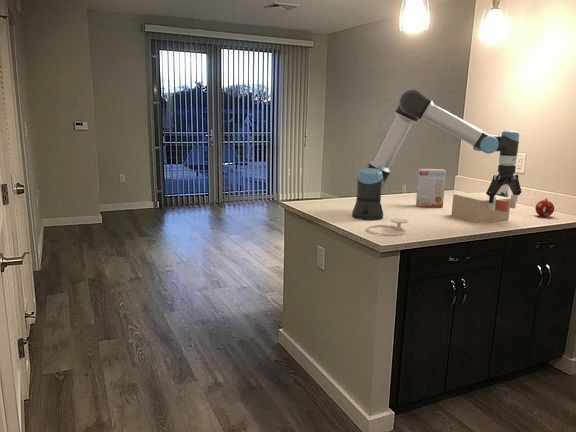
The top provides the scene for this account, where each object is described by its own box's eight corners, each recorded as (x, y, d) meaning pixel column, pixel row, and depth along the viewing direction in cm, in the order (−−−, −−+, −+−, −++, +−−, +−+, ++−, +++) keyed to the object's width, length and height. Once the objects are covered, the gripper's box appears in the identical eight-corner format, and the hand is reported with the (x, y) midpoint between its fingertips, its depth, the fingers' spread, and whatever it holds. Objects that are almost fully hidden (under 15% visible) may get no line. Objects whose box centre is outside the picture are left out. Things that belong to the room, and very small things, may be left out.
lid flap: (490, 213, 220) (492, 202, 219) (452, 203, 243) (453, 194, 242) (521, 210, 228) (523, 200, 227) (481, 201, 251) (482, 192, 250)
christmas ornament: (553, 216, 247) (556, 197, 245) (552, 219, 240) (555, 199, 238) (535, 214, 252) (537, 195, 249) (533, 216, 244) (536, 197, 242)
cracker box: (440, 206, 267) (444, 169, 263) (443, 208, 262) (446, 170, 257) (415, 204, 269) (418, 168, 264) (417, 207, 263) (420, 169, 258)
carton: (478, 222, 228) (480, 202, 226) (451, 214, 244) (453, 195, 242) (508, 219, 236) (510, 199, 234) (480, 212, 252) (482, 193, 250)
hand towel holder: (358, 220, 208) (392, 215, 219) (357, 229, 209) (391, 225, 220) (385, 228, 194) (420, 223, 205) (384, 238, 195) (419, 233, 206)
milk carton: (489, 210, 257) (493, 174, 253) (487, 207, 266) (491, 172, 262) (507, 212, 255) (511, 175, 251) (504, 208, 264) (508, 173, 259)
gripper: (493, 166, 214) (488, 212, 218) (533, 164, 224) (527, 208, 228) (481, 164, 221) (476, 209, 225) (519, 163, 231) (514, 205, 235)
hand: (502, 209), depth 227 cm, fingers open, 13 cm apart
